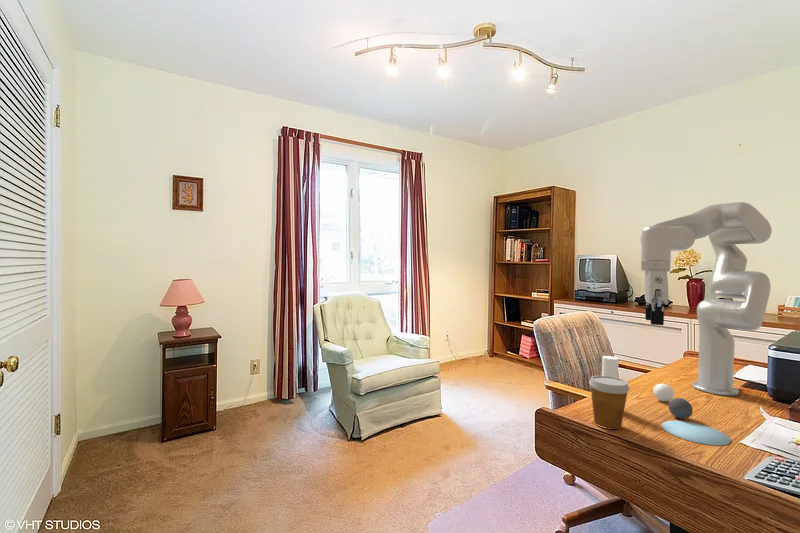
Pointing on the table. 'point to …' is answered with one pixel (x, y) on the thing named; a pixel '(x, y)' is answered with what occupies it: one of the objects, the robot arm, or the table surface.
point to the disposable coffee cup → (608, 400)
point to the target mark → (696, 433)
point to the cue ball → (663, 392)
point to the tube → (610, 366)
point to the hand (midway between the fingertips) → (654, 322)
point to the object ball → (680, 408)
